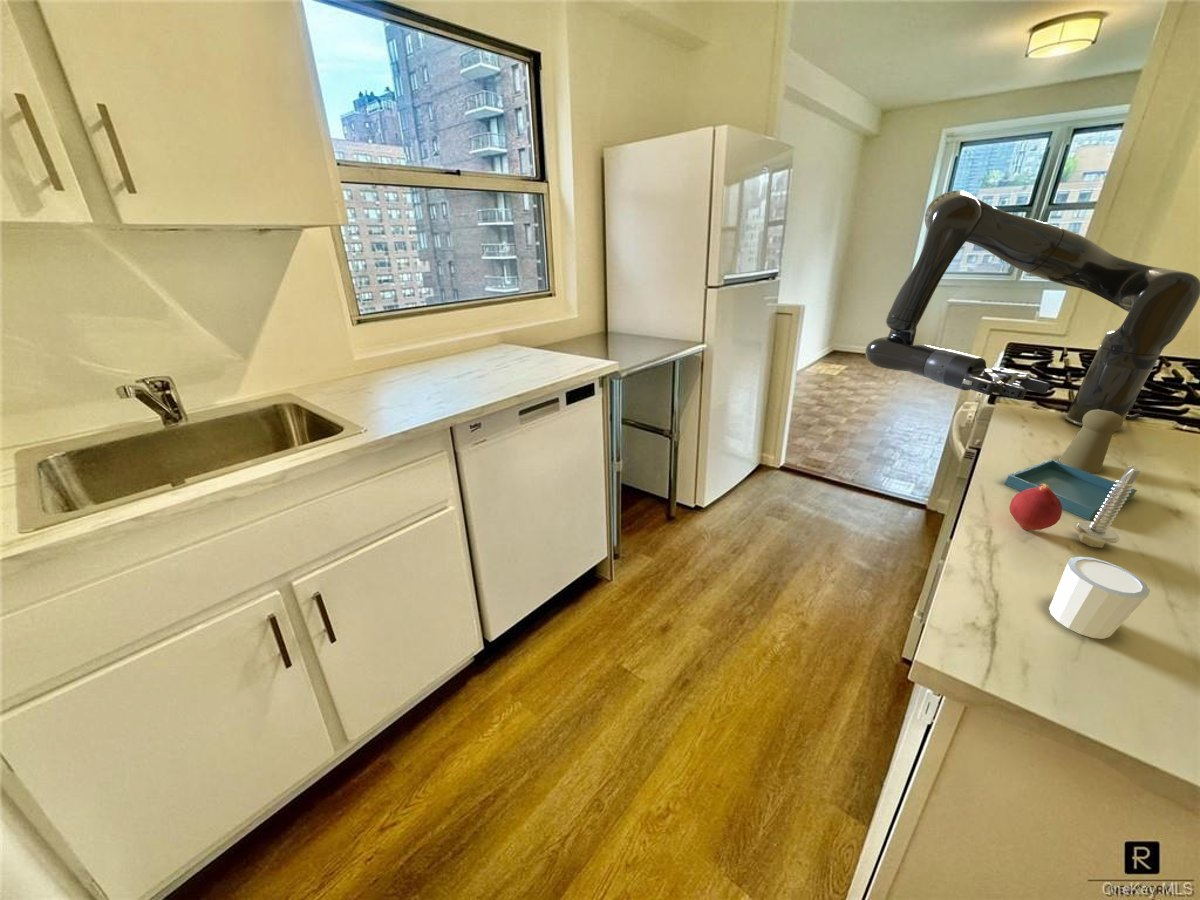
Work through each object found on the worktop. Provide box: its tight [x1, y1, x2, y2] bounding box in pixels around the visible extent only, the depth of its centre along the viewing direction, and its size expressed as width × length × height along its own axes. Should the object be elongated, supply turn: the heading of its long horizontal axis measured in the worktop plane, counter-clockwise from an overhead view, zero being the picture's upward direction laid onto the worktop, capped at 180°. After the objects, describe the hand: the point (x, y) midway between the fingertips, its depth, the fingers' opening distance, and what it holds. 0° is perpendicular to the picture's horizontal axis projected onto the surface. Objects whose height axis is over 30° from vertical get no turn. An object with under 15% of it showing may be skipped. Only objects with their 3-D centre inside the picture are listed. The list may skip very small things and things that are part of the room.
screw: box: [1073, 465, 1141, 548], centre depth 68 cm, size 13×5×5 cm
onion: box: [1009, 484, 1063, 531], centre depth 72 cm, size 6×6×8 cm
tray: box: [1004, 458, 1137, 521], centre depth 83 cm, size 14×12×2 cm
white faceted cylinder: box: [1048, 556, 1151, 640], centre depth 56 cm, size 7×7×7 cm
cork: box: [1058, 410, 1124, 474], centre depth 90 cm, size 6×6×11 cm
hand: (1036, 391), depth 96 cm, fingers open, 8 cm apart
